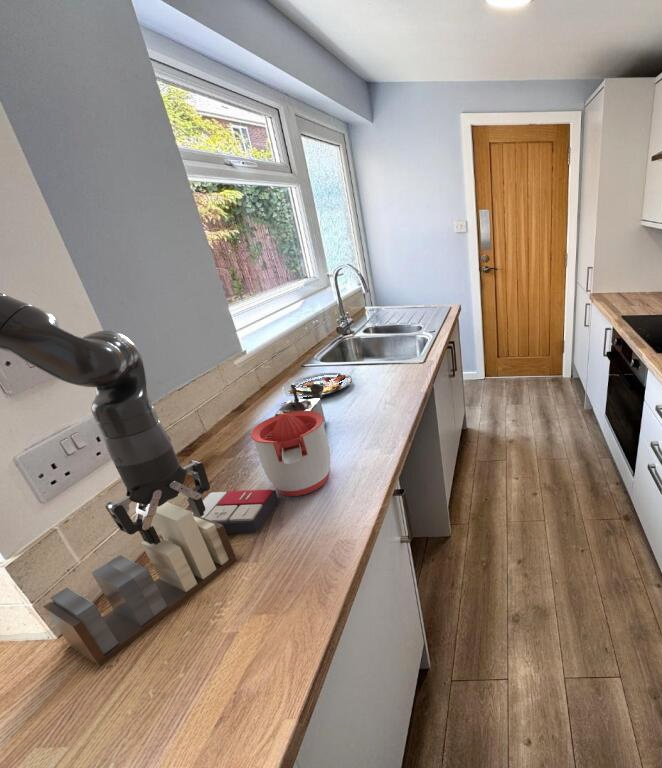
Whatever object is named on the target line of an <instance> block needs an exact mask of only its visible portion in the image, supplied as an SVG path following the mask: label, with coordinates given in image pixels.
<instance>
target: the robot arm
mask: <svg viewBox="0 0 662 768" xmlns="http://www.w3.org/2000/svg"><path fill="white" fill-rule="evenodd" d="M0 351H4V352H6V353H10V354H12V355H15V356H16V357H18V358H19V359H21V360H22V361H24V362H26V363H27V364H29V365H31V366H32V367H35V368H37V369H38V370H40V371H42V372H44V373H45V374H47V375H50V376H51V377H53V378H55V379H57V380H59V381H62V382H64V383H66V384H67V383H68V384H70V385H75V386H78V387H84V388H94V390H95V397H94V399H93V401H92V402H91V406H90V411H91V415H92V417H93V419H94V421H95V423H96V426H97V428H98V430H99V431H100V433H101V436H102V438H103V439H104V440H103V441H104V443H105V447H106V450H107V452H108V455H109V456H110V459H111V461H112V462H113V465H114V467H115V469H116V470H117V472H118V474H119V476H120V479H121V480H122V482H123V484H124V487H125V489H126V494H125V496H123V497H122V498H120V499H118V500H117V501H108V502H107V503H106V504H105V509H106V510H107V512H108V514H109V515H110V516H111V519H112V520H113V521H114V523H115V524H116V526H117V527H118V529H119V531H121V532H123V533H126V534H127V535H130V536H131V535H134V534H136V533H137V532H138V533H139V534H140V536H141V539H142V541H145V542H147V543H149V544H155V545H157V544H158V543H160V542H161V541H160V539H159V538H160V537H159V535H158V532H157V531H156V529H155V527H154V526H153V525H152V523H153V520H154V518H153V516H154V515H155V514H156V510H157V506H158V507H159V506H161V505H163V504H164V503H165V502H168V501H170V500H173V499H175V498H178V496H179V494H181V495H183V496H186V497H188V498H187V502H188V505H189V507H190V510H191V512H193V514H194V515H196V516H198V517H201V516H203V515H204V511H205V506H204V503H203V499H202V495H203V494H204V493H205V492H207V491H209V490H210V489H211V485H210V482H209V479H208V476H207V473H206V469H205V466H204V464H203V463H202V462H199V461H195V460H189V462H188V463H187V465H185V466H182V465H181V464H180V460H179V457H178V456H177V454H176V451H175V449H174V446H173V444H172V442H171V437H170V436H169V434H168V432H167V430H166V429H165V427H164V426H163V424H162V422H161V421H160V418H159V416H158V414H157V411H156V409H155V407H154V405H153V402H152V400H151V399H150V396H149V391H148V390H149V389H148V381H147V376H146V370H145V365H144V361H143V358H142V355H141V353H140V351H139V349H138V347H137V346H136V344H135V343H134V342H133V341H132V340H131V339H130V338H128V337H127V336H125V335H124V334H122V333H119V332H116V331H112V330H99V331H95V332H92V333H89V334H86V335H85V336H83V337H80V336H77V335H74V334H73V333H70V332H69V331H66V330H65V329H63V328H61V327H59V320H58V319H57V318H56V317H55V316H54V315H53V314H52V313H49V312H47V311H45V309H44V310H43V309H42V308H39V307H36V306H35V305H32V304H29V303H27V302H24V301H21V300H20V299H17V298H15V297H12V296H9V295H6V294H4V293H2V292H0ZM187 474H188V475H190V476H191V478H192V482H193V484H194V487H193V488H190V487H188V486H186V485H184V483H185V479H186V477H187ZM131 503H136V506H135V513H136V515H135V518H134V521H133V520H132V518H131V516H130V515H129V514H128V512H129V511H130V504H131Z"/></svg>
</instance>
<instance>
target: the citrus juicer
mask: <svg viewBox="0 0 662 768" xmlns="http://www.w3.org/2000/svg"><path fill="white" fill-rule="evenodd" d="M325 428H326V427H325ZM325 428H324V424H323V416H322V415H321V414H320V413H318V412H315V411H293V412H288V413H284V414H280V415H277V416H275V415H274V416H272V417H269V418H267V419H264V420H263V421H261V422H259V423H258V424H257V425H255V426H254V427H253V428H252V430H251V432H250V438H251V439H252V440H253V444H254V446H255V449H256V452H257V454H258V455H257V456H258V458H259V461H260V464H261V467H262V469H263V472H264V474H265V475H266V477H267V479H268V481H269V482H270V483H271V485H272V486H273V488H274V490H276V491H278V493H280V494H281V495H283V496H285V497H300V496H303V495H307V494H310V493H313V492H315V491H316V490H318V489H320V488H321V487H322V486H324V485H325V484H326V483H327V482H328V479H329V477H330V472H331V449H330V445H329V441H328V437H327V432H326V429H325Z"/></svg>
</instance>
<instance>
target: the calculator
mask: <svg viewBox="0 0 662 768" xmlns="http://www.w3.org/2000/svg"><path fill="white" fill-rule="evenodd" d="M202 501H203V503H204V506H205V511H204V515H203V516H201V517H203V518H205V519H208V520H211V521H213V522H216V523H218V524H221V525H223V526H224V529H225V531H226V534H227V535H230V534H231V535H233V534H250V533H251V534H252V533H253V534H254V533H257V532H258V531H259V530H260V528H261V527H262V526H263V524H264V522H265V521H266V519H267V518H268V516H269V515H270V514H271V512H272V511H273V509H274V508H275V506H276V505H277V503H278V502H279V497H278V493H277V489H251V490H250V489H249V490H248V489H247V490H229V491H213V492H209V493H208V494H207V495H206V496H205V497H204V499H202ZM191 512H192V511H191ZM192 514H193V512H192Z"/></svg>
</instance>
